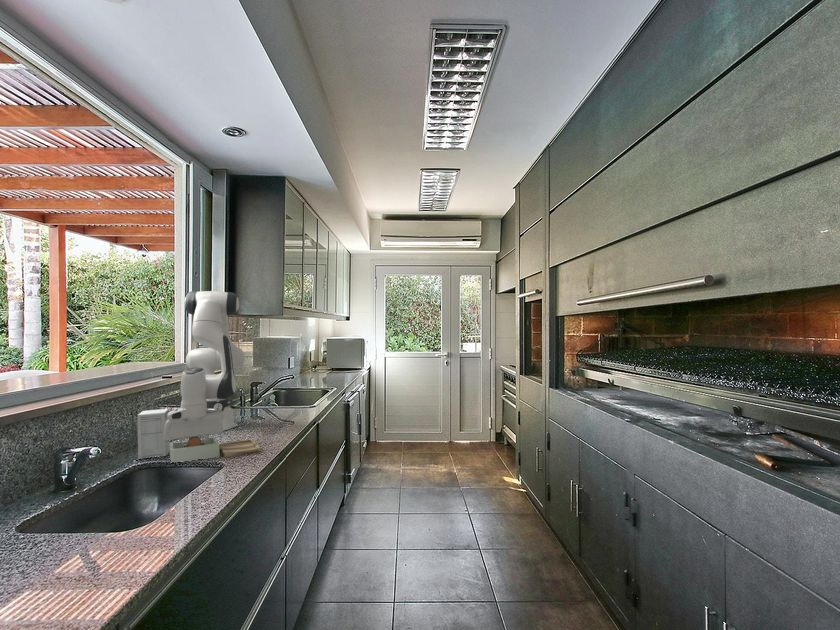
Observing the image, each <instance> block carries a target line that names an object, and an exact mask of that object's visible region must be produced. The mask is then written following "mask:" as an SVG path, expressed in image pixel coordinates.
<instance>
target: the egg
mask: <svg viewBox="0 0 840 630" xmlns="http://www.w3.org/2000/svg"><path fill="white" fill-rule="evenodd" d="M200 439H201V438H200V436H196V437H189V439H188V440H187V441H188V443H187V447H193V446H200V445H202V443H201V440H200Z"/></svg>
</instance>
